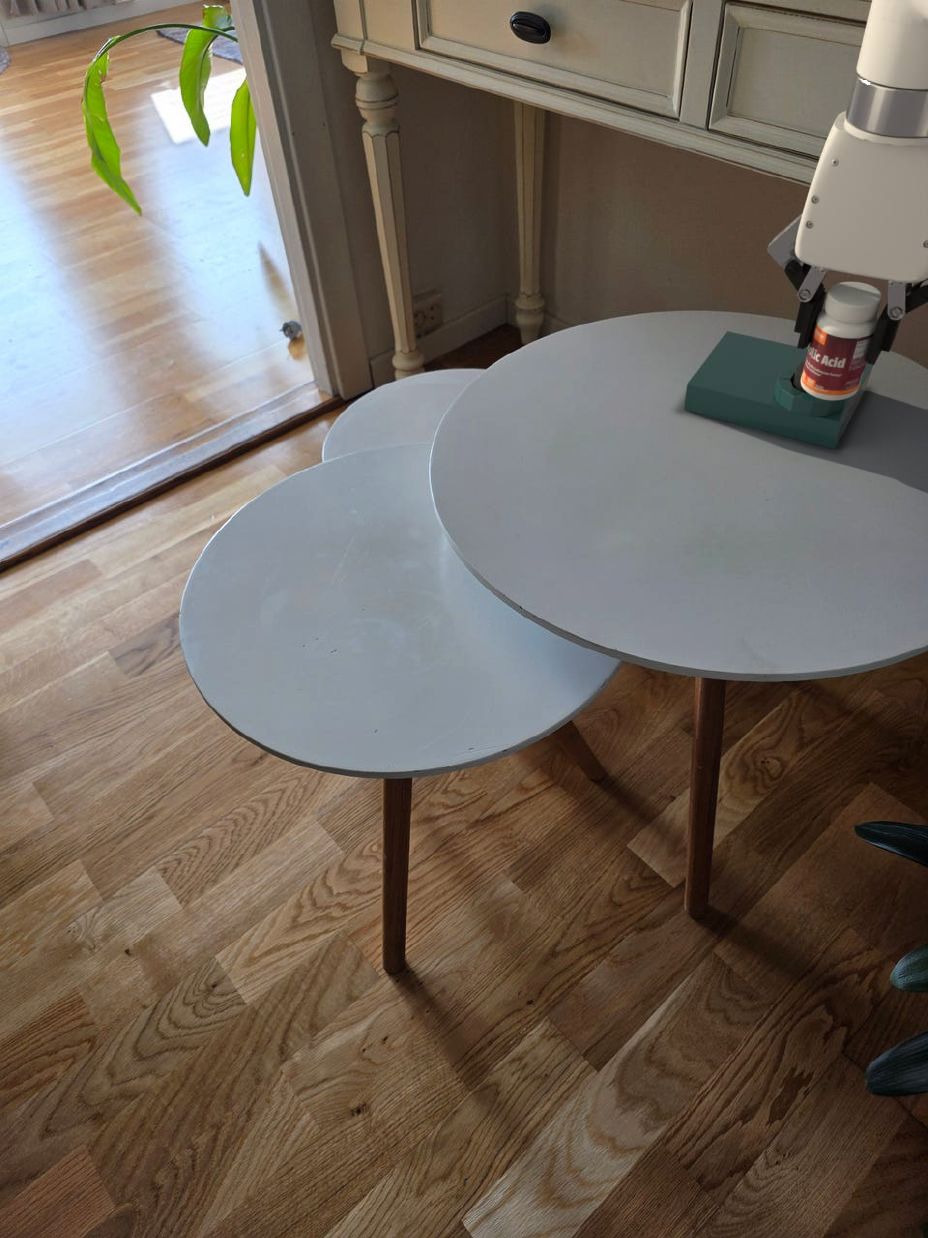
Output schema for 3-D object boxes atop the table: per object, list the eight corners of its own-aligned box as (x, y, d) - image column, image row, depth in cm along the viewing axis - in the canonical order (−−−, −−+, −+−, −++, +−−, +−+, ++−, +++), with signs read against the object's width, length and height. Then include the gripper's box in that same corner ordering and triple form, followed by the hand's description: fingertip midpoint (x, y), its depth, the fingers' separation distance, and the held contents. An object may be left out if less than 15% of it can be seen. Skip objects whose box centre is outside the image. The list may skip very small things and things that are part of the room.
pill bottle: (788, 385, 75) (810, 293, 69) (823, 365, 77) (847, 272, 70) (835, 409, 72) (862, 314, 66) (870, 387, 74) (900, 293, 68)
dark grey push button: (839, 380, 88) (843, 364, 87) (827, 400, 86) (832, 384, 84) (799, 370, 89) (803, 355, 88) (787, 390, 87) (791, 375, 86)
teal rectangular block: (865, 389, 94) (878, 347, 91) (833, 451, 87) (845, 409, 84) (722, 356, 101) (729, 315, 97) (681, 412, 94) (687, 370, 90)
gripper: (1057, 98, 57) (959, 349, 70) (797, 73, 64) (753, 307, 77) (1040, 138, 53) (939, 397, 66) (764, 107, 60) (723, 347, 73)
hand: (840, 346), depth 71 cm, fingers closed on pill bottle, 4 cm apart
